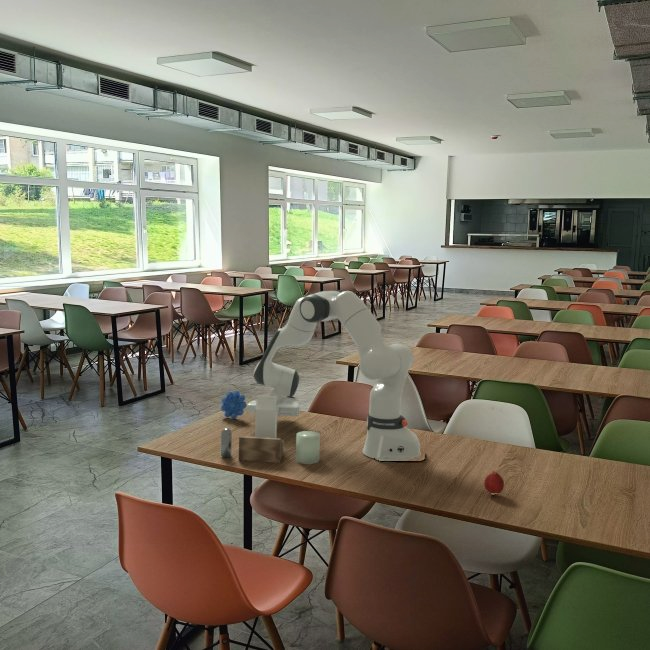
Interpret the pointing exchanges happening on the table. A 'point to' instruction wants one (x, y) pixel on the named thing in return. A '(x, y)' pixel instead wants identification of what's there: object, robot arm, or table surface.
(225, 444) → the grey shaker
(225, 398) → the grapes
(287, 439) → the table surface
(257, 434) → the milk carton
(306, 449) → the sage mug
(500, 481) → the onion
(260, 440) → the walnut holder
